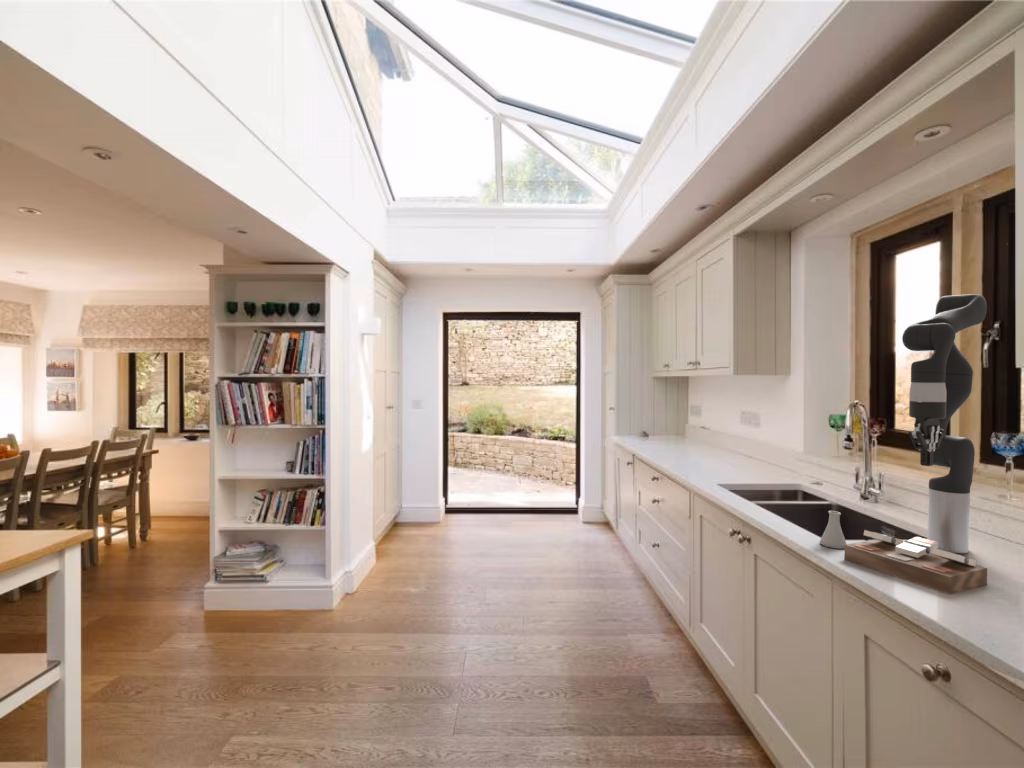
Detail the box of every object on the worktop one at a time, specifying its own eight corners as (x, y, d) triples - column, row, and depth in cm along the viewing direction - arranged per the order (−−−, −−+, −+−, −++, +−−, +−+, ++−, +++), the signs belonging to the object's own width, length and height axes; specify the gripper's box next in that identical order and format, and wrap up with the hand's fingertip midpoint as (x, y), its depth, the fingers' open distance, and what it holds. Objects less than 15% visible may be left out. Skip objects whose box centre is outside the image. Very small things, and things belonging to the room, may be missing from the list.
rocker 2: (915, 542, 135) (915, 535, 135) (938, 548, 130) (938, 541, 130) (895, 552, 131) (894, 545, 131) (918, 558, 127) (917, 551, 127)
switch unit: (880, 552, 144) (881, 537, 144) (986, 584, 122) (987, 566, 122) (844, 559, 138) (844, 543, 138) (949, 594, 116) (950, 575, 116)
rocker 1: (882, 540, 142) (883, 534, 142) (902, 546, 137) (904, 540, 138) (862, 535, 139) (864, 529, 139) (883, 541, 134) (884, 534, 134)
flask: (852, 550, 145) (853, 516, 145) (825, 548, 147) (826, 514, 147) (841, 542, 153) (842, 509, 152) (815, 540, 154) (816, 508, 154)
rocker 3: (950, 560, 128) (951, 553, 128) (975, 567, 123) (977, 560, 123) (930, 554, 124) (932, 546, 124) (956, 561, 119) (957, 553, 119)
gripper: (925, 398, 139) (924, 461, 139) (896, 399, 133) (896, 465, 134) (958, 400, 132) (957, 466, 132) (930, 401, 127) (929, 469, 127)
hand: (926, 465), depth 133 cm, fingers closed
